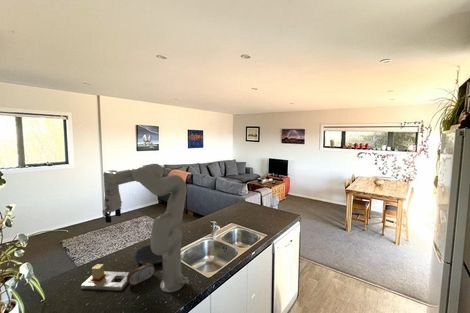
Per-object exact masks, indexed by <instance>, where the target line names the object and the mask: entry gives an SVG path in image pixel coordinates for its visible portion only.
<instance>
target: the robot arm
mask: <svg viewBox="0 0 470 313" xmlns="http://www.w3.org/2000/svg"><path fill="white" fill-rule="evenodd" d="M163 174H164V167H163V166H162V165H160V164H159V163H150V164H145V165H141V166H136V167H134V168H130V169H124V170H120V171H117V170H115V169H114V170H111V169H110V170H105V171H104V172H103V188H104V201H103V202H104V204H103V205H104V208H103V209H102V210H101V211H102V214H103V215H104V221H105V223H108V224H110V223H112V215H111V214H112V212H113V213H114V212H115V217H121V216H122V215H121V214H122V211H121V209H122V203H123V202H122V199H121V193H120V186H119V185H124V184H127V183H132V182H137V183H139V184H141V186H143V187H144V188H145V189H146V190H148V191H149V192H150V193H151V194H153V195H155V196H156V197H163V196H165V195H168V194H170V195H169V198H168V200H167V204H166V205H167V206H166V210H165V212H164V213H161V214H159V216H157V217H155V219H154V221H153V223H152V228H151V234H150V235H151V236H150V241H149V242H150V243H149V245H150V246H151V250H152V252H153V253H154V254H155V255H162V262H161V263H162V280H161V281H160V284H159V286H160V289H161V291H162V292H164V293H175V292H177V291H179V290H181V289H182V288H183V286H184V285H185V284H186V285H189V283H190V279H189V278H188V276H184V274H183V273H182V254H181V253H182V242H183V234H182V231H181V229H180V228H178V227H180V225H182V223H183V222H182V221H183V216H184V210H185V202H186V197H187V192H188V190H187V188H188V187H187V184H186V182H185V180H184V178H183V177H182V176H179V175H177V174H172V175H171V174H170V175H168V176H163ZM162 176H163V177H162Z"/></svg>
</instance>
